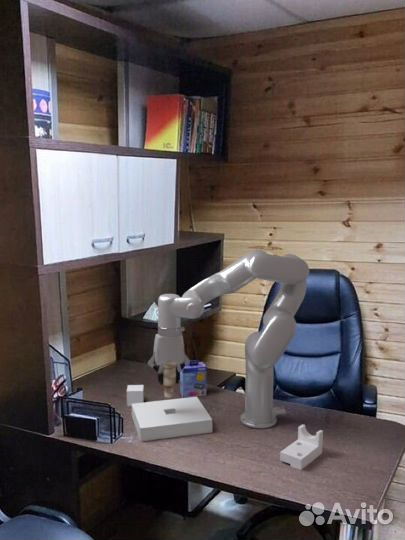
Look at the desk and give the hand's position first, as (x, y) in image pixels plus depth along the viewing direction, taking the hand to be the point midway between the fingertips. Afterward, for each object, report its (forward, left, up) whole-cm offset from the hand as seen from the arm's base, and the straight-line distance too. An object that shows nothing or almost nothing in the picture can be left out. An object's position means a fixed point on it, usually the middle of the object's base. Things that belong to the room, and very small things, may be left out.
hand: (168, 382), depth 186 cm
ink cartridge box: (-14, -23, -15) cm, 31 cm away
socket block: (0, 0, -15) cm, 15 cm away
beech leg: (0, 0, -5) cm, 5 cm away
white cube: (+9, -21, -15) cm, 27 cm away
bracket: (-34, +33, -15) cm, 50 cm away
